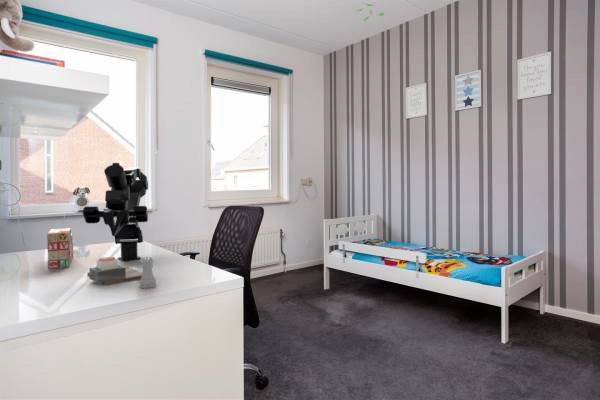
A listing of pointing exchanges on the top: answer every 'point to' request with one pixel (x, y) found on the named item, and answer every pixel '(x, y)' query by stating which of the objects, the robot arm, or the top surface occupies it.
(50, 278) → the top surface
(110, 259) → the key cap
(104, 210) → the robot arm
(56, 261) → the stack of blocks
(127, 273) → the key console
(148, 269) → the rook chess piece
